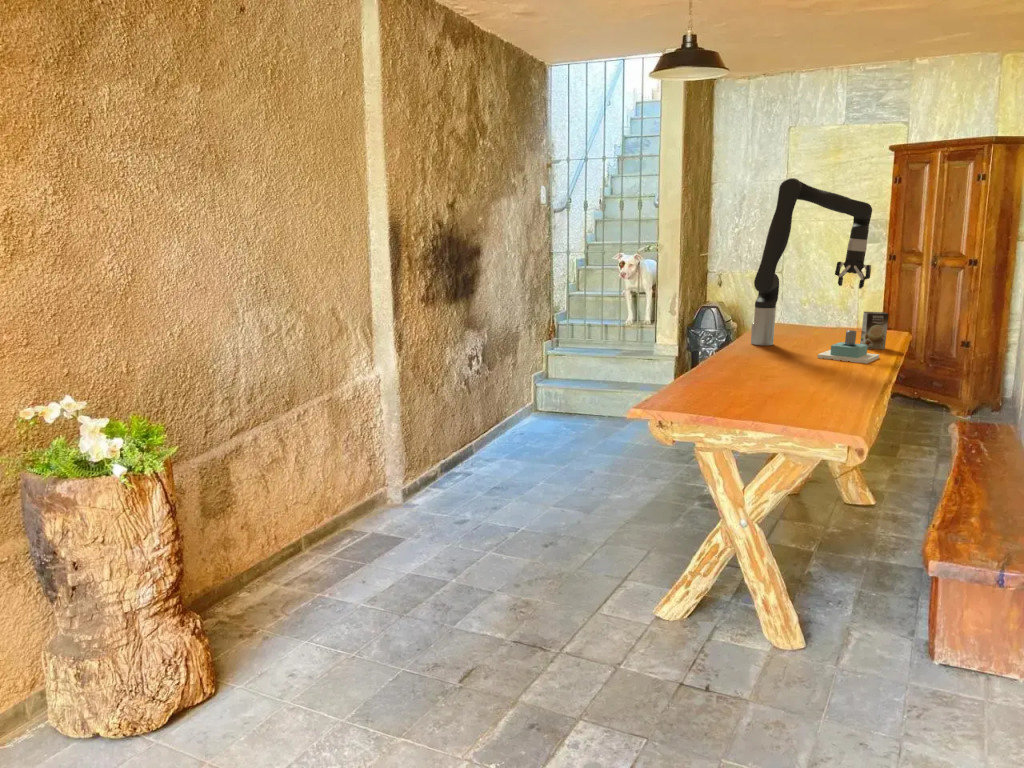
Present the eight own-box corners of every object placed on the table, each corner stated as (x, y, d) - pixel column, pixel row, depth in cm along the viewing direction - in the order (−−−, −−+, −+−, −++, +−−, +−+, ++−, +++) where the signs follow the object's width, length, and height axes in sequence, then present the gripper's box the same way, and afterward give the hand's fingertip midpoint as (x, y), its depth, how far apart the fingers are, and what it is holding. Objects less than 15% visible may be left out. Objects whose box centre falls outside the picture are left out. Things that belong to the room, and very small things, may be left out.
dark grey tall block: (842, 354, 337) (844, 330, 335) (845, 353, 340) (848, 329, 338) (851, 355, 335) (854, 332, 332) (855, 354, 338) (857, 330, 335)
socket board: (817, 357, 338) (818, 345, 337) (831, 352, 350) (832, 340, 349) (866, 363, 326) (868, 350, 324) (879, 358, 337) (880, 345, 336)
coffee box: (864, 349, 359) (867, 313, 355) (859, 346, 365) (862, 311, 362) (885, 349, 358) (889, 313, 354) (880, 346, 364) (883, 311, 361)
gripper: (836, 248, 348) (830, 285, 352) (870, 251, 339) (864, 289, 343) (842, 248, 353) (836, 284, 357) (876, 251, 344) (869, 288, 348)
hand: (850, 287), depth 350 cm, fingers open, 8 cm apart
